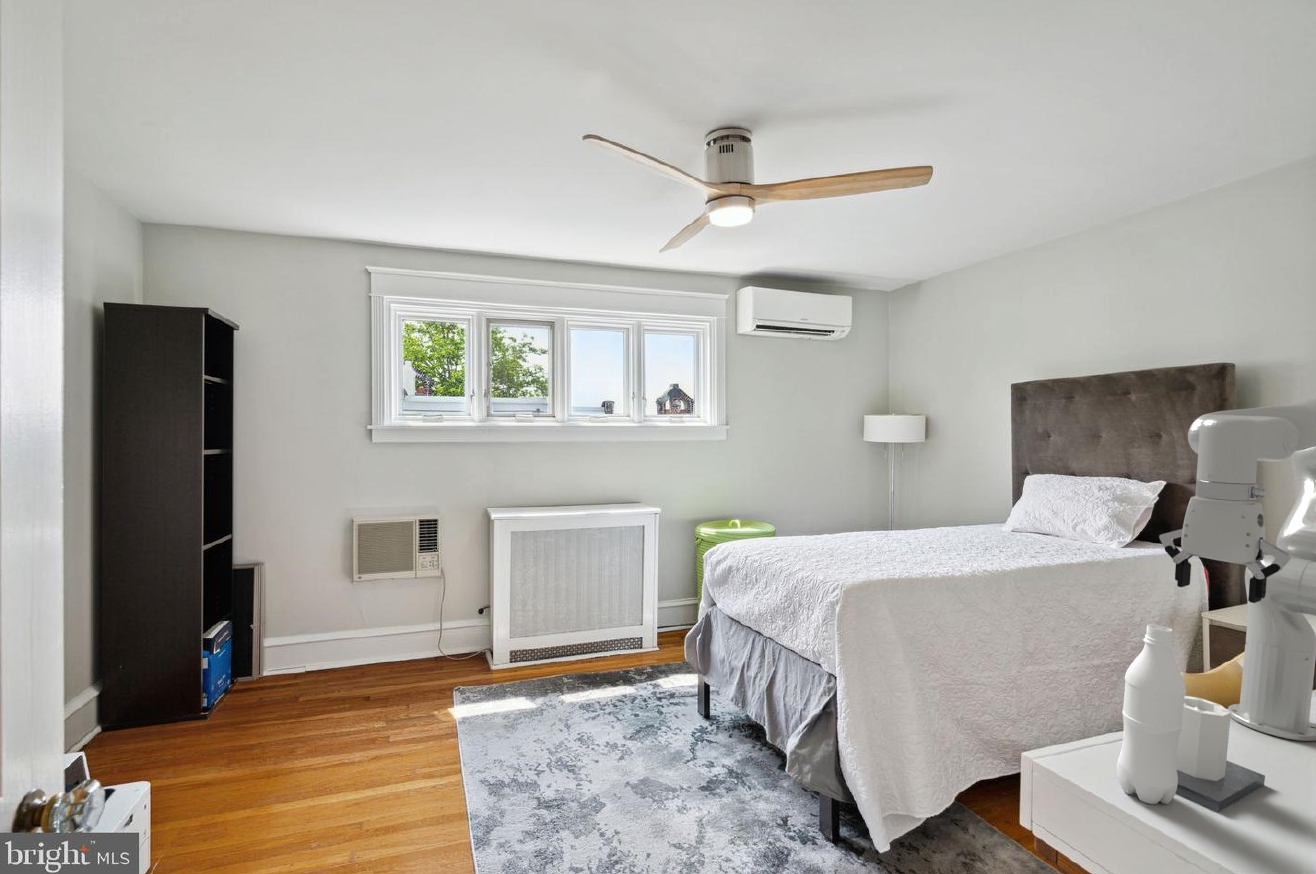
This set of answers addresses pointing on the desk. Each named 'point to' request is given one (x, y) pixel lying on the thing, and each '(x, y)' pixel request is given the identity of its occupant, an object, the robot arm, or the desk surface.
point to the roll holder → (1220, 786)
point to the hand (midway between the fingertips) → (1217, 593)
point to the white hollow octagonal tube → (1203, 739)
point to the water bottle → (1152, 720)
